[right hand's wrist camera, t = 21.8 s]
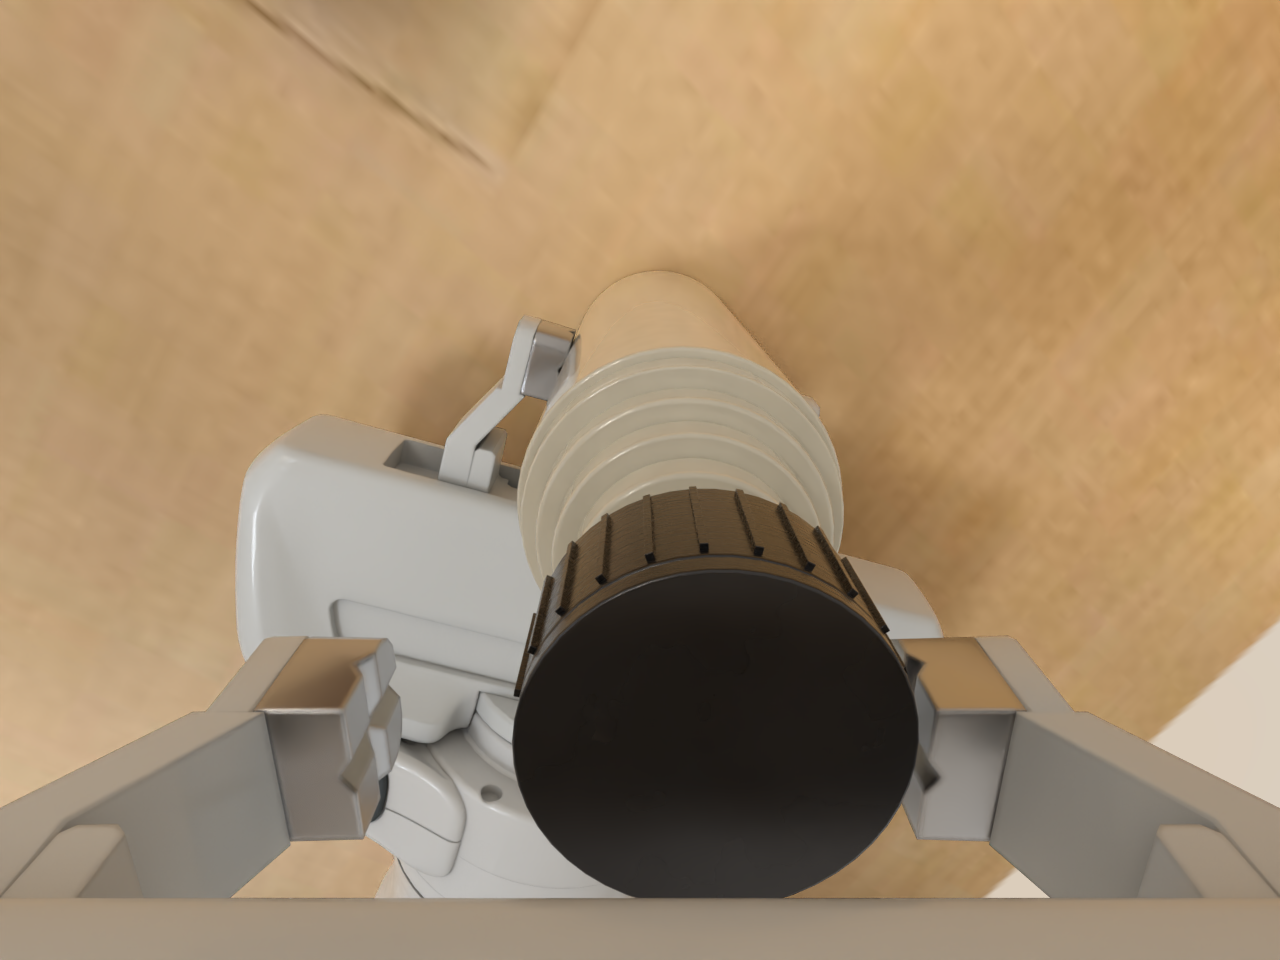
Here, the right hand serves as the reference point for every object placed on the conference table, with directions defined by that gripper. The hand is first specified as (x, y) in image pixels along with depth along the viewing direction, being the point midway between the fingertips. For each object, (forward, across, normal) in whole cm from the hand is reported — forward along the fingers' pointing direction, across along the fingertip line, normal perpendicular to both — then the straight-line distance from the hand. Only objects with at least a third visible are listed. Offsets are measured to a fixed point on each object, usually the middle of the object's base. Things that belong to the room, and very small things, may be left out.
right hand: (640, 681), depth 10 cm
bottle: (+18, -1, 0) cm, 18 cm away
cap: (-2, -1, -1) cm, 3 cm away
